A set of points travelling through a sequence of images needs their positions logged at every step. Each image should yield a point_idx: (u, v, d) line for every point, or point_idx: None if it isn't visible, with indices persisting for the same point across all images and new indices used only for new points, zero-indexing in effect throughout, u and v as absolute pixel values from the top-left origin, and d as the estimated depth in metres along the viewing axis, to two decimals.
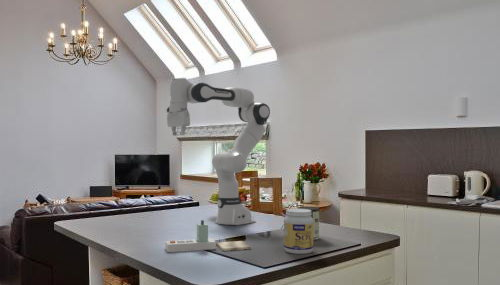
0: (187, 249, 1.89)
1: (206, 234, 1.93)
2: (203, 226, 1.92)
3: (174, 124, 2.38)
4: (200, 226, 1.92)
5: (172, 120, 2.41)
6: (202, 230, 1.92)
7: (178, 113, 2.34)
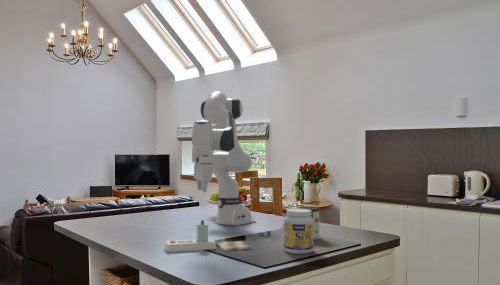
0: (187, 249, 1.89)
1: (206, 234, 1.93)
2: (203, 226, 1.92)
3: None
4: (200, 226, 1.92)
5: None
6: (202, 230, 1.92)
7: None
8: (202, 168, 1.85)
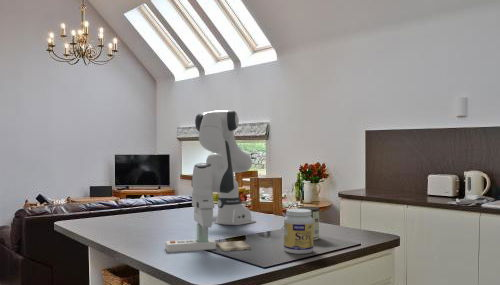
0: (187, 249, 1.89)
1: (206, 234, 1.93)
2: None
3: None
4: (200, 226, 1.92)
5: None
6: None
7: None
8: (202, 214, 1.85)
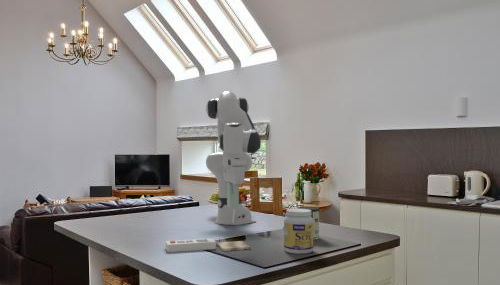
0: (187, 249, 1.89)
1: (237, 192, 1.95)
2: None
3: None
4: (231, 184, 1.94)
5: None
6: None
7: None
8: (235, 171, 1.87)
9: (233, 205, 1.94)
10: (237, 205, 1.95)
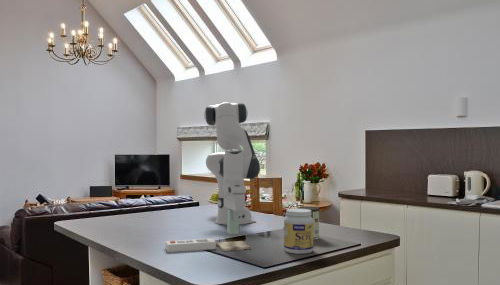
0: (187, 249, 1.89)
1: None
2: None
3: None
4: (231, 211, 1.94)
5: None
6: None
7: None
8: (235, 199, 1.87)
9: (233, 232, 1.94)
10: (237, 232, 1.95)
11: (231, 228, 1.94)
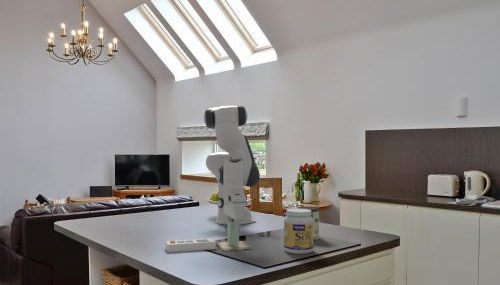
0: (187, 249, 1.89)
1: (237, 231, 1.95)
2: None
3: None
4: (231, 223, 1.94)
5: None
6: (233, 227, 1.94)
7: None
8: (235, 207, 1.87)
9: (233, 244, 1.94)
10: (237, 243, 1.95)
11: (231, 240, 1.94)
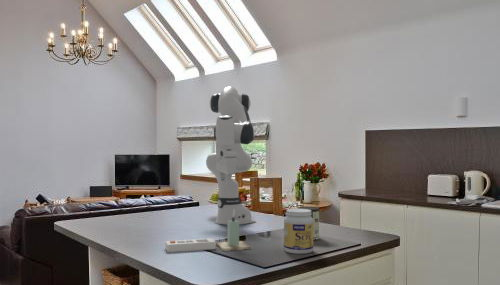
0: (187, 249, 1.89)
1: (237, 231, 1.95)
2: (234, 223, 1.95)
3: None
4: (231, 223, 1.94)
5: None
6: (233, 227, 1.94)
7: None
8: (227, 162, 1.97)
9: (233, 244, 1.94)
10: (237, 243, 1.95)
11: (231, 240, 1.94)
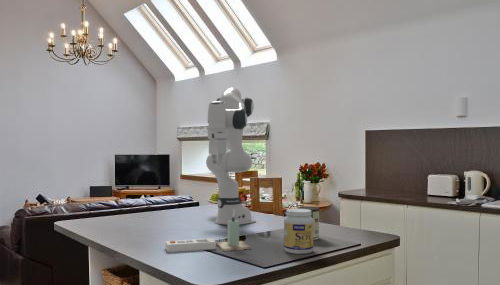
0: (187, 249, 1.89)
1: (237, 231, 1.95)
2: (234, 223, 1.95)
3: None
4: (231, 223, 1.94)
5: None
6: (233, 227, 1.94)
7: None
8: (217, 143, 2.07)
9: (233, 244, 1.94)
10: (237, 243, 1.95)
11: (231, 240, 1.94)
